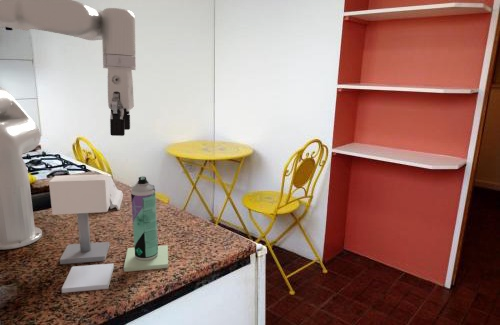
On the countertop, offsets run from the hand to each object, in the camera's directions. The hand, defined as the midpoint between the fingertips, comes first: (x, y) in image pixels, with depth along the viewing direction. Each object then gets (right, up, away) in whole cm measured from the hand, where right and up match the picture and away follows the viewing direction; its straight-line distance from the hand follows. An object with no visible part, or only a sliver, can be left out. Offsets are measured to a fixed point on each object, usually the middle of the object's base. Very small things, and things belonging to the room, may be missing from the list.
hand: (120, 132), depth 94 cm
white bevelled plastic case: (-16, -22, +35) cm, 44 cm away
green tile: (+8, -32, -3) cm, 33 cm away
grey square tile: (-2, -34, -13) cm, 36 cm away
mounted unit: (-8, -31, -2) cm, 32 cm away
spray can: (+8, -31, -4) cm, 32 cm away
